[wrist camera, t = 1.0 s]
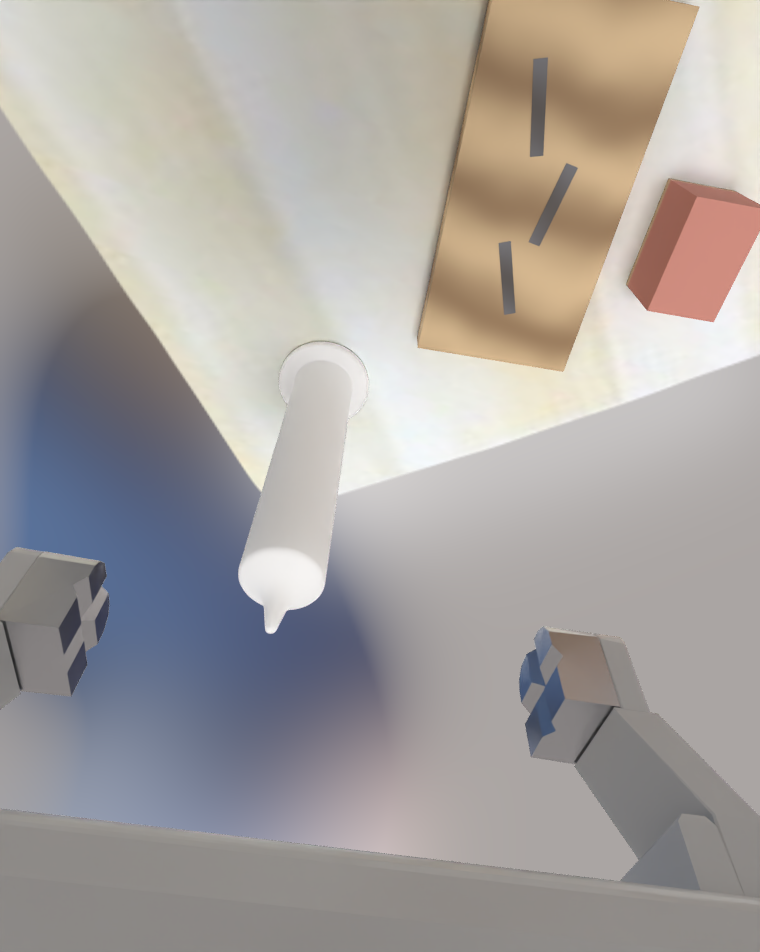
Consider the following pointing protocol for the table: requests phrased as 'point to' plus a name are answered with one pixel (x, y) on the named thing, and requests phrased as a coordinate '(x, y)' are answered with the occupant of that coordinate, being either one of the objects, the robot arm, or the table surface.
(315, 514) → the candle
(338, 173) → the table surface
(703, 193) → the block
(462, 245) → the plank
